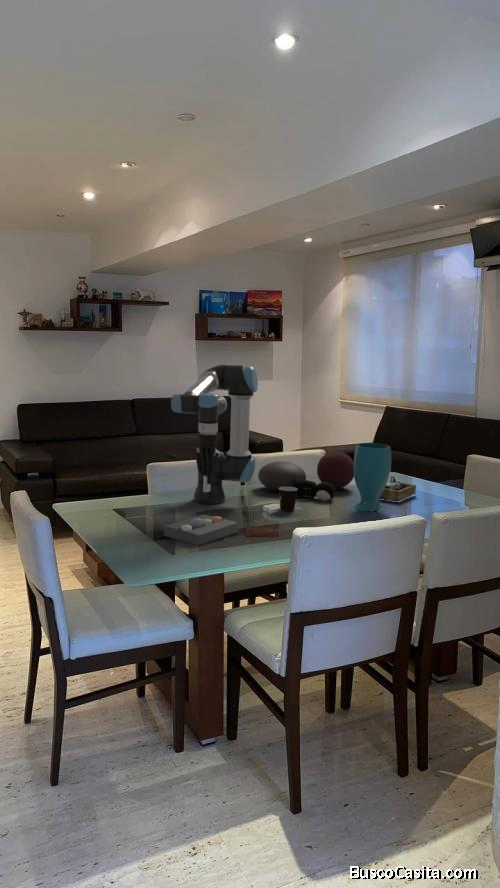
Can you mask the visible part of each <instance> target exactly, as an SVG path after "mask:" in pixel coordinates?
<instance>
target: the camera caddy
mask: <svg viewBox="0 0 500 888" xmlns="http://www.w3.org/2000/svg"><path fill="white" fill-rule="evenodd" d="M388 482H390V480H388ZM416 490H417V485H416V484H413V483H412V484H411V483H405V482H401V490H399V491H396V490H390V489H384V490H383V492H382V494H381V495H380V497H379V499H384V500H391V501H400V500H402V499H404V498H406V497H409V496H411V495H413V494H415V495H416V492H417V491H416Z"/></svg>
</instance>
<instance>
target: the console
mask: <svg viewBox="0 0 500 888" xmlns="http://www.w3.org/2000/svg"><path fill="white" fill-rule="evenodd" d="M211 517H213V515H208V514H206V513H205V514H201V515H197V516H193V517H190V518H187V519H184V520H180V521H176V522H173V523H172V522H171V523H169V524H165V525H164V526H163V536H164V537H168V538H171V539H174V540H178V541H181V542H184V543H190V544H193V545H195V546H201V545H204V544H207V543H211V542H214V541H215V540H218V539H221V538H225V537H228V536H231V535H234V534H237V533H239V522H237V521H234V520H229V519H225V518H221V521H219V522H214V521H212V524H210V525H205V524H202V527H200V528H195V527H192V530H190V531H184V530H181V526H182V525H191V526H192V519H193V518H200V519H211Z"/></svg>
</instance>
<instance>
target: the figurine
mask: <svg viewBox="0 0 500 888" xmlns="http://www.w3.org/2000/svg"><path fill="white" fill-rule="evenodd" d="M294 488H297V489H298V490H297V496H296V498H303V499H313V498H316V499H318V500H320V501H322V502H328V501H331V500H333V498H334V497H335V495H336V489H335V488H334V486H333V485H332V484H330V483H327V482H321V481H320V482H319V483H318V484H317V483H316V482H315V481H311V480H309V479H308V480H307V479H306V480H303V479H297V480H296V482H295V486H294Z"/></svg>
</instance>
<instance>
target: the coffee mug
mask: <svg viewBox="0 0 500 888" xmlns="http://www.w3.org/2000/svg"><path fill="white" fill-rule="evenodd" d="M297 490H298V489H297V488H294V487H280V488H279V491H278V495H279V496H278V497H279V499H278V500H279V510H280V509H281V510H284V511H292V512H294V511H295V509H296V508H295V506H296V502H297V497H296V496H297ZM281 510H280V511H281ZM284 511H283V512H284Z"/></svg>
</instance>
